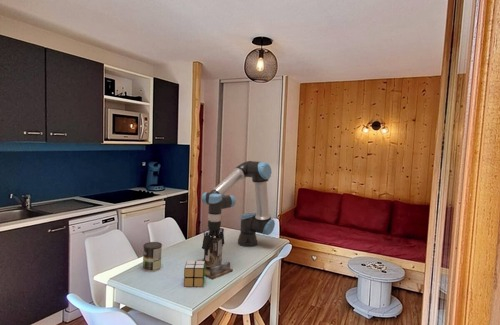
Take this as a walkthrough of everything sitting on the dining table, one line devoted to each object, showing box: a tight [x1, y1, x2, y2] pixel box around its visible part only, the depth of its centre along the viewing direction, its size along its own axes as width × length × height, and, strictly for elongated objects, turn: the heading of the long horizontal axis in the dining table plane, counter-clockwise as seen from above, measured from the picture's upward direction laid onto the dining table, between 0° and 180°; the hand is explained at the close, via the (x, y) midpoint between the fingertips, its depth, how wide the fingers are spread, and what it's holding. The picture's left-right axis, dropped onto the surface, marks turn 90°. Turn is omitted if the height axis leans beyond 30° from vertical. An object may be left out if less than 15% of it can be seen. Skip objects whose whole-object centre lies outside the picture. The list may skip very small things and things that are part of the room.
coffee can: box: [142, 241, 163, 273], centre depth 171 cm, size 10×10×14 cm
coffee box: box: [203, 236, 223, 268], centre depth 172 cm, size 9×6×16 cm
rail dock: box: [196, 257, 234, 281], centre depth 172 cm, size 16×18×5 cm
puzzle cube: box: [183, 260, 206, 288], centre depth 156 cm, size 10×10×10 cm
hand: (212, 258), depth 172 cm, fingers closed on coffee box, 8 cm apart
